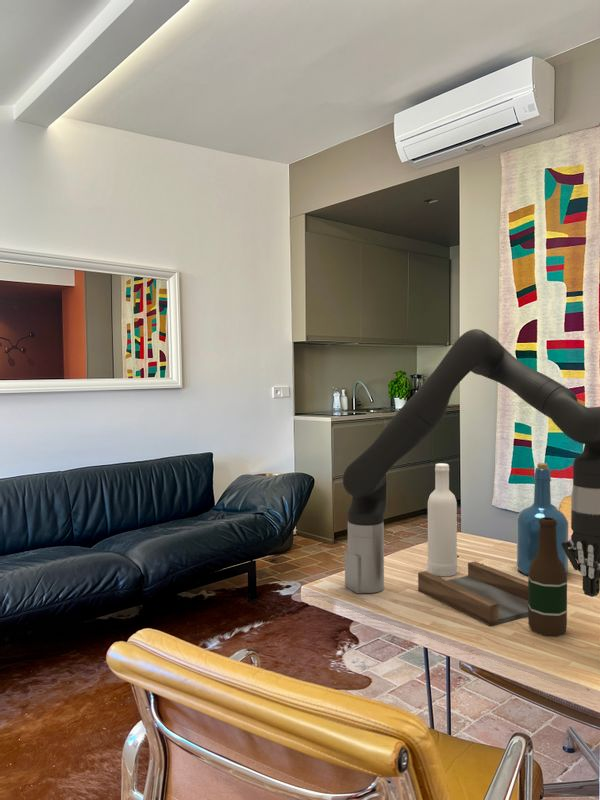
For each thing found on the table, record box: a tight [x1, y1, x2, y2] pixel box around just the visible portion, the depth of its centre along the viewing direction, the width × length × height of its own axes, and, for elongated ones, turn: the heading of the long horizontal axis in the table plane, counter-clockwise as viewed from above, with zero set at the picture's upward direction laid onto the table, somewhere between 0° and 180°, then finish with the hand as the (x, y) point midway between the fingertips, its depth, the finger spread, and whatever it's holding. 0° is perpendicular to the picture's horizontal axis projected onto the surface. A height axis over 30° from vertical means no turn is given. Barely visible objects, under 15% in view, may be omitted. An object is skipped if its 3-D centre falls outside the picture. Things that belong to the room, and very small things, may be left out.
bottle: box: [427, 462, 458, 578], centre depth 168 cm, size 8×8×30 cm
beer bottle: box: [527, 517, 568, 637], centre depth 130 cm, size 8×8×24 cm
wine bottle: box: [516, 462, 569, 576], centre depth 168 cm, size 14×13×30 cm
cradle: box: [417, 561, 528, 627], centre depth 148 cm, size 19×25×4 cm
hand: (591, 595), depth 121 cm, fingers closed
